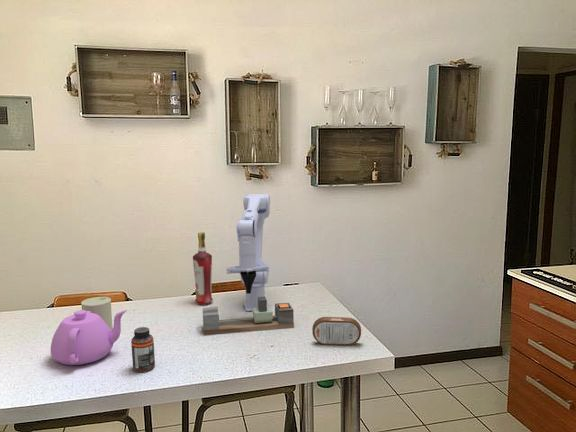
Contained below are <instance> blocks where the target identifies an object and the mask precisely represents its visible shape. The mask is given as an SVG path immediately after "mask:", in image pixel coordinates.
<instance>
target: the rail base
mask: <svg viewBox="0 0 576 432" xmlns="http://www.w3.org/2000/svg"><path fill="white" fill-rule="evenodd" d="M280 304H288V306H289V308H286V309H279V305H280ZM294 315H295V314H294V308H293V307H292V305H291V303H289V302H279V303H278V302H276V303H274V315H273V319H272V322H260V323H254V318H253V316H252V317H241V318H239V317H238V318H229V319H219V317H220V316H219V310H218V306H206V307H202V326H203V327H202V328H203V329H202V330H203V336H210V335H211V336H212V335H222V334H233V333H246V332H256V331H257V332H259V331H267V330H268V331H269V330H279V329H291V328H292V329H293V328H295V322H294V321H295V320H294Z"/></svg>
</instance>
